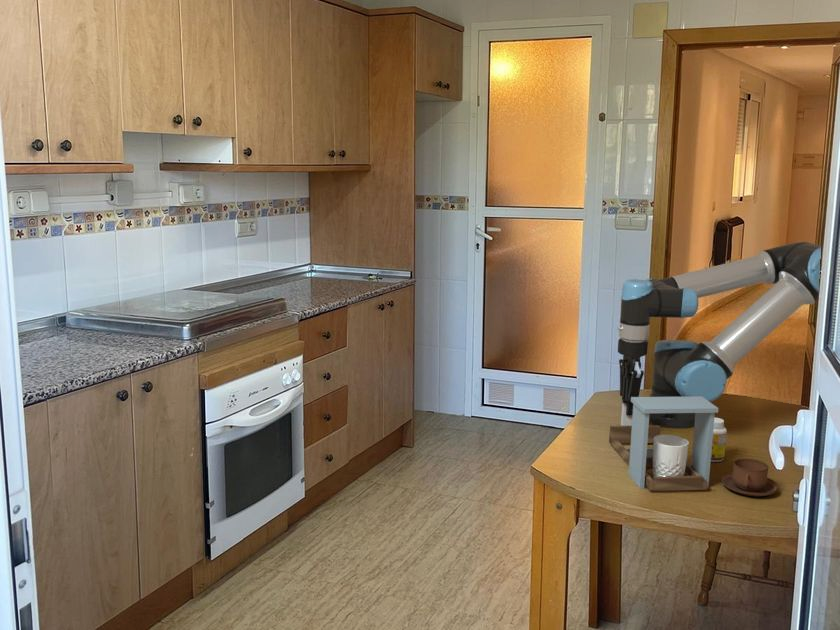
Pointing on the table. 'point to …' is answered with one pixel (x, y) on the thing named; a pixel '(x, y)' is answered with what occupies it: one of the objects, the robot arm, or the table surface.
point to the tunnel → (671, 405)
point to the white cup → (669, 455)
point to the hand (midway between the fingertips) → (626, 425)
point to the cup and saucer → (749, 478)
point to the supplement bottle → (718, 440)
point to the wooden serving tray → (660, 482)
